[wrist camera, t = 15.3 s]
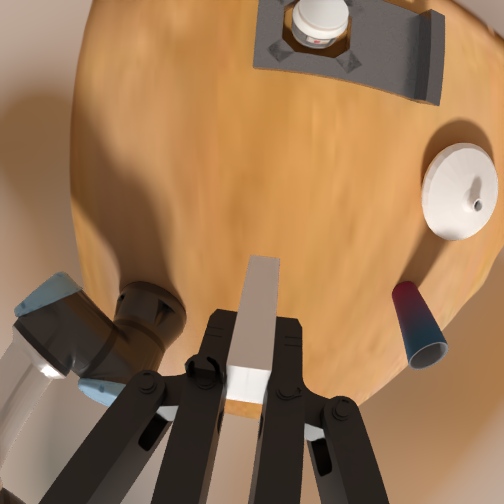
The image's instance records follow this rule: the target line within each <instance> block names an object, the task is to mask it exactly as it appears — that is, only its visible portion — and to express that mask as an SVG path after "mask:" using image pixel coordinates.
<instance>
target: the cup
mask: <svg viewBox="0 0 504 504" xmlns="http://www.w3.org/2000/svg"><path fill="white" fill-rule="evenodd" d="M392 299H393V302H394V306H395V309H396V313H397V317H398V320H399V324H400V328H401V332H402V336H403V341H404V345H405V349H406V354H407V359H408V364H409V367H410V368H412V369H415V370H419V369H425V368H427V367H430V366H432V365H434V364H436V363H437V362H439V361H440V360H441V359H442V358H443V357H444V356H445V355H446V353H447V351H448V348H449V347H448V344H447V342H446V340H445V338H444V336H443V334H442V332H441V330H440V328H439V326H438V324H437V323H436V321H435V319H434V317H433V315H432V313H431V312H430V310H429V308H428V306H427V304H426V303H425V301H424V299H423V297H422V296H421V294H420V292H419V291H418V289H417V287H416V286H415V284H414V283H413V282H409V281H406V282H402V283H400V284H399V285H397V286H396V287H395V288H394V290H393V292H392Z"/></svg>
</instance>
